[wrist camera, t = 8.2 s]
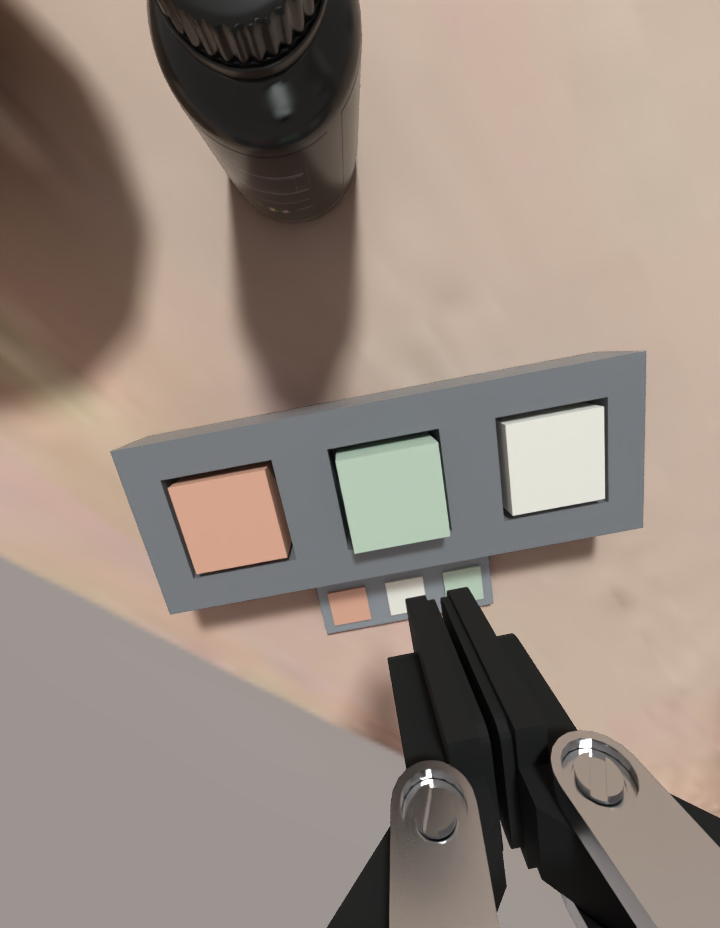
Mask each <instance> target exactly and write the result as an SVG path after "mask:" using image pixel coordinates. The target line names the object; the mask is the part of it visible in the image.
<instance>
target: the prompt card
mask: <svg viewBox="0 0 720 928" xmlns="http://www.w3.org/2000/svg"><path fill="white" fill-rule="evenodd" d="M462 587H468V588H469V589H470V591H471V593H472V594H473V596H474V598H475V600H476V601H477V603H478V605H479V606H483V605H488V604H493V594H492V584H491V575H490V565H489V556H486V557H480V558H475V559H470V560H464V561H459V562H453V563H448V564H442V565H437V566H432V567H426V568H421V569H415V570H410V571H404V572H399V573H393V574H388V575H383V576H377V577H372V578H366V579H361V580H355V581H350V582H345V583H339V584H334V585H328V586H323V587H317V588H316V589H317V594H318V598H319V602H320V606H321V610H322V614H323V618H324V622H325V626H326V631H327V634H330V633H335V632H341V631H346V630H352V629H357V628H363V627H368V626H373V625H379V624H384V623H390V622H395V621H401V620H406V619H408V615H407V609H406V603H405V599H406V598H411V597H416V596H421V595H426V598H427V600H431V599H435V601H436V603H437V606H438V608H439V611H440V613H442V610H441V603H440V598H441V597H447V594H446V593H447V590H452V589H457V588H462Z"/></svg>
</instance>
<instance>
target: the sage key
mask: <svg viewBox="0 0 720 928" xmlns="http://www.w3.org/2000/svg"><path fill="white" fill-rule="evenodd" d="M335 462H336V467H337V471H338V476H339V481H340V486H341V491H342V496H343V500H344V505H345V510H346V515H347V520H348V525H349V530H350V534H351V539H352V544H353V549H354V554H357V553H362V552H367V551H373V550H378V549H384V548H389V547H395V546H400V545H405V544H411V543H416V542H422V541H427V540H432V539H438V538H443V537H449V536H450V529H449V522H448V514H447V506H446V499H445V491H444V483H443V476H442V468H441V460H440V452H439V445H438V442H437V441H436V440H435V439H434V438H433V437H432V436H431V435H429V434H428V433H427V432H426V431H425V432H420V433H414V434H409V435H403V436H398V437H393V438H387V439H382V440H377V441H371V442H366V443H361V444H355V445H350V446H345V447H339V448H336V461H335Z"/></svg>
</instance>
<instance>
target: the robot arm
mask: <svg viewBox="0 0 720 928" xmlns="http://www.w3.org/2000/svg"><path fill="white" fill-rule="evenodd" d="M446 594H447V597H441V598H440V603H441V610H442V616H443V618H442V616H441V613H440V611H439V608H438V606H437V603H436V601H435V599H431V600H427V598H426V595H421V596H416V597H411V598H406V599H405V603H406V609H407V615H408V620H409V626H410V632H411V638H412V643H413V649H414V653H410V654H404V655H399V656H394V657H389V658H388V664H389V670H390V676H391V682H392V688H393V694H394V700H395V705H396V711H397V717H398V723H399V729H400V735H401V741H402V746H403V752H404V758H405V764H406V770H405V772H404V773H403V774H402V775H401V776H400V777H399V778H398V780H397V783H396V785H395V787H394V789H393V793H392V799H391V821H390V824H391V826H390V827H389V829H388V831H387V832H386V834H385V835H384V837H383V839H382V840H381V842H380V844H379V845H378V847H377V848H376V850H375V852H374V853H373V855H372V856H371V858H370V859H369V861H368V863H367V864H366V866H365V867H364V869H363V871H362V872H361V874H360V875H359V877H358V879H357V880H356V882H355V883H354V885H353V887H352V888H351V890H350V891H349V893H348V895H347V896H346V898H345V900H344V901H343V903H342V904H341V906H340V907H339V909H338V911H337V912H336V914H335V915H334V917H333V919H332V920H331V922H330V923H329V925H328V927H327V928H499V923H498V918H497V911H498V908H499V905H500V903H501V900H502V897H503V895H504V892H505V889H506V887H507V886H506V878H505V870H504V861H503V853H502V851H503V842H502V835H501V825H500V821H501V823H502V827H503V829H504V832H505V835H506V838H507V840H508V843H509V845H510V847H511V849H514V848H519V847H520V848H521V851H522V853H523V856H524V858H525V861H526V864H527V867H528V869H531V868H536V867H537V868H538V870H539V873H540V876H541V878H542V880H543V881H545V882H546V883H547V884H549V885H550V886H552V887H553V888H554V889H556V890H557V891H558V892H560V893H561V896H562V898H563V901H564V903H565V905H566V908H567V910H568V912H569V914H570V916H571V918H572V919H573V921H574V923H575V925H576V927H577V928H720V818H719V817H717V816H714V815H712V814H710V813H708V812H706V811H704V810H702V809H700V808H698V807H696V806H694V805H692V804H690V803H688V802H686V801H684V800H682V799H680V798H678V797H676V796H674V795H672V794H670V793H669V792H668V791H667V790H666V789H665V788H664V787H663V786H662V785H661V784H660V783H659V782H658V781H657V779H656V778H655V777H654V776H653V775H652V774H651V773H650V772H649V771H648V770H647V769H646V768H645V767H644V765H643V764H642V763H641V762H640V761H639V760H638V759H637V758H636V757H635V756H634V755H633V754H632V753H631V752H630V751H629V750H627V749H626V748H625V747H624V746H623V745H622V744H620V743H618V742H616V741H615V740H613V739H611V738H610V737H608V736H605V735H602V734H599V733H596V732H593V731H582V730H577V729H576V727H575V726H574V724H573V723H572V721H571V720H570V718H569V717H568V715H567V713H566V712H565V710H564V709H563V707H562V706H561V704H560V703H559V701H558V700H557V698H556V696H555V695H554V693H553V692H552V690H551V689H550V687H549V686H548V684H547V683H546V681H545V680H544V678H543V676H542V675H541V673H540V672H539V670H538V669H537V667H536V666H535V664H534V663H533V661H532V659H531V658H530V656H529V655H528V653H527V652H526V650H525V649H524V647H523V646H522V644H521V643H520V641H519V639H518V638H517V637H516V636H515V635H514V634H513V633H511V634H506V635H501V636H496V634H495V633H494V631H493V629H492V627H491V626H490V624H489V622H488V620H487V619H486V617H485V615H484V614H483V612H482V610H481V608H480V607H479V605H478V603H477V601H476V600H475V598H474V596H473V594H472V593H471V591H470V589H469V588H468V587H462V588H457V589H452V590H447V593H446Z"/></svg>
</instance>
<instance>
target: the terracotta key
mask: <svg viewBox="0 0 720 928" xmlns="http://www.w3.org/2000/svg"><path fill="white" fill-rule="evenodd" d="M168 491H169V494H170V497H171V500H172V503H173V506H174V509H175V512H176V515H177V518H178V521H179V524H180V527H181V530H182V533H183V536H184V539H185V542H186V545H187V548H188V551H189V554H190V557H191V560H192V563H193V566H194V569H195V572H196V574H201V573H206V572H212V571H217V570H222V569H228V568H233V567H239V566H244V565H249V564H255V563H260V562H266V561H271V560H276V559H282V558H287V557H288V553H289V550H290V546H291V543H292V540H291V536H290V532H289V528H288V524H287V520H286V516H285V512H284V508H283V504H282V500H281V496H280V492H279V488H278V484H277V480H276V476H275V473H274V469H273V465H272V461H271V460H268V461H263V462H257V463H252V464H247V465H241V466H236V467H231V468H225V469H220V470H214V471H209V472H204V473H198V474H193V475H188V476H183V477H182V478H180V479H179V480H178V481H176V482H175V483H174V484H172V485H171V486H170V487H168Z"/></svg>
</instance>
